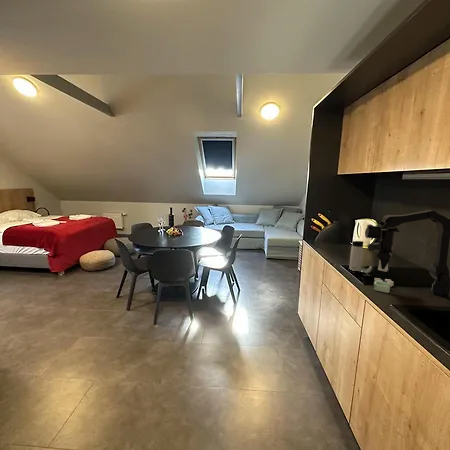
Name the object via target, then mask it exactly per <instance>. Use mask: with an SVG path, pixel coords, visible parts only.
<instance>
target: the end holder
mask: <svg viewBox="0 0 450 450" xmlns="http://www.w3.org/2000/svg"><path fill="white" fill-rule="evenodd" d="M373 289H374V290H373V291H378V292H382V293H387V294H390V290H391V286H390V283H385V282H380V281H375V283H374V282H373Z"/></svg>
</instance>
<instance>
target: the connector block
mask: <svg viewBox="0 0 450 450" xmlns="http://www.w3.org/2000/svg"><path fill="white" fill-rule="evenodd" d="M388 267H389V263H388V264H387V265H386V267H385V268H384V269H381V260H380V259H379V261H378V267H377V271H381V272H388Z"/></svg>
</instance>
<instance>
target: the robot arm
mask: <svg viewBox="0 0 450 450" xmlns="http://www.w3.org/2000/svg"><path fill="white" fill-rule="evenodd" d="M428 219H429V220H430V221H431V222H433V223H434V224H435V230H436V232H437V243H436V253H435V259H434V263H433V264H431V263H430V264H429V265H428V266H429V270H428V272H429V275H430V276H431V277H432V280H434V282H433V283H432V284H431V285H432V286H431V292H432V294H433V296H434V295H435V296H440V297H444V298H450V269H449V267H448V256H449V247H450V217H446V216H444V215H442V214H440V213H438V212H437V211H436V210H432V209H426V210H423V211H417V212H412V213H406V214H387V215H384V216H383V217H382V219H381V221H380V222H379V223H378V224H377V225H371V224H367V226H366V228H365V231H364V236H365V238H366V239H377V240H378V239H379V238H380V240H379V242H372V243H368V244H367V249H368V251H369V252H372V251H376V250H377V251H378V252H377V254H376V258H378V259H379V261H380V260H381V269H384V268H385V267H386V265H387V264H388V265H389V262H390V261H391V260H392V256H393V251H394V250H393V246H394V245H393V244H394V238H395V233H400V230H399V229H398V228H397V227H398V226H401V225H403V224H405V223H411V222H416V221H423V220H428Z"/></svg>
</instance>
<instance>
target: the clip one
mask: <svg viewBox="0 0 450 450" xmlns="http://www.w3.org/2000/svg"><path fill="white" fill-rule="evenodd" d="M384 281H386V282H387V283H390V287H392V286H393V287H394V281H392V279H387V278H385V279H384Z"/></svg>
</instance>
